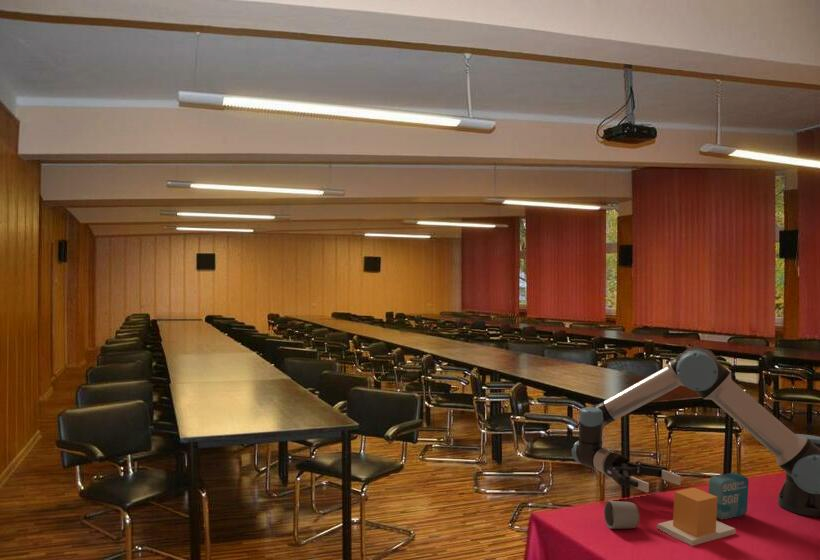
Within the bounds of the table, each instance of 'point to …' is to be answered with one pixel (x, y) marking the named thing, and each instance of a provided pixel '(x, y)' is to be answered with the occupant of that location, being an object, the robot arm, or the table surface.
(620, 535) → the table surface
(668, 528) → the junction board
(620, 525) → the ceramic mug
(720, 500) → the data package
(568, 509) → the table surface
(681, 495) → the tall orange block
